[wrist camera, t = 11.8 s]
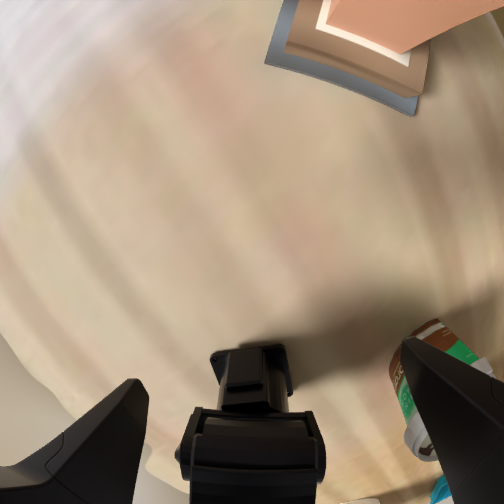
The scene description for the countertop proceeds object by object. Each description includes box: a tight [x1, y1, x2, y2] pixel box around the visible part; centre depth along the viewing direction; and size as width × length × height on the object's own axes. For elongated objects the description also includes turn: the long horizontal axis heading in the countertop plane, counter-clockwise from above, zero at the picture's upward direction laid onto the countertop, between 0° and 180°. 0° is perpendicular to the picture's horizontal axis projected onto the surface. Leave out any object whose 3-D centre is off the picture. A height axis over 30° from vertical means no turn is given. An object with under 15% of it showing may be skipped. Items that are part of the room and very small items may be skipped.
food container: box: [389, 318, 496, 462], centre depth 20 cm, size 12×6×10 cm, turn 11°
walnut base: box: [264, 0, 431, 117], centre depth 14 cm, size 11×11×3 cm
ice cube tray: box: [430, 476, 451, 504], centre depth 40 cm, size 12×20×3 cm, turn 21°
